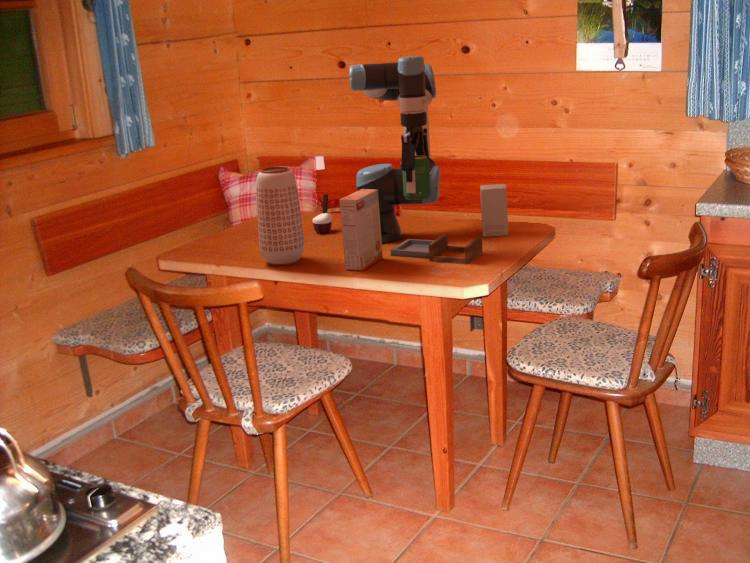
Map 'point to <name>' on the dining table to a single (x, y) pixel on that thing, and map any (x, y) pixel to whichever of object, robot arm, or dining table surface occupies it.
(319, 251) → the dining table surface
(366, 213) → the cracker box
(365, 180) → the robot arm
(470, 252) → the caddy
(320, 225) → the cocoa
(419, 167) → the beverage can
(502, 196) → the skincare box
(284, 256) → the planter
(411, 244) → the tray
